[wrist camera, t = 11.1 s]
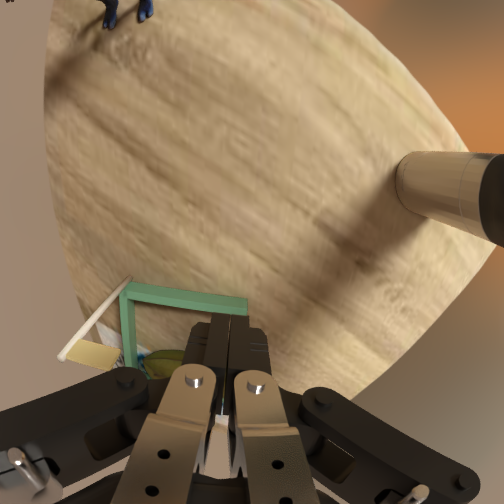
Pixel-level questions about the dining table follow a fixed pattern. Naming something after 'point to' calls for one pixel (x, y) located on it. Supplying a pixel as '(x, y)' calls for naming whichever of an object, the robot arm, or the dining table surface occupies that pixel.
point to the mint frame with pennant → (128, 293)
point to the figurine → (111, 7)
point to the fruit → (164, 363)
